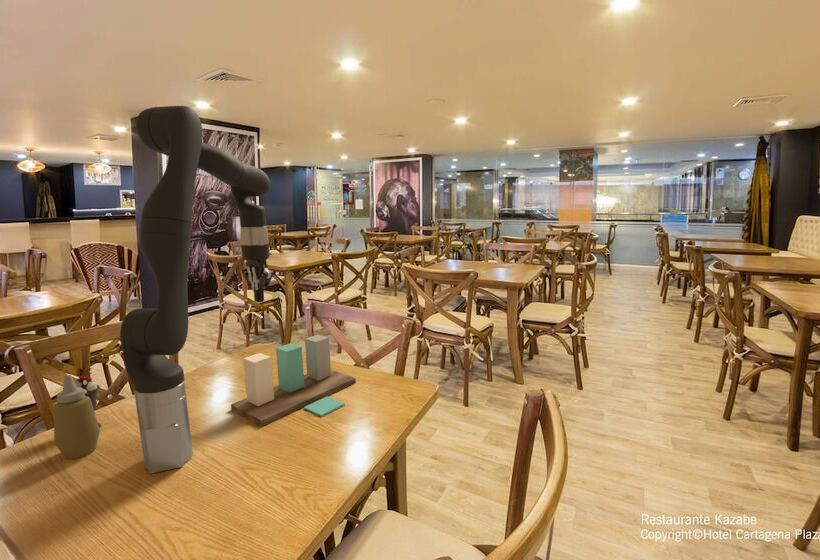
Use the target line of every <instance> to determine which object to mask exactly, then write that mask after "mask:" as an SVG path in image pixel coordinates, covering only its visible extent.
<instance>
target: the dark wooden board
mask: <svg viewBox="0 0 820 560" xmlns="http://www.w3.org/2000/svg"><path fill="white" fill-rule="evenodd" d="M356 380H357V379H356V377H354V376H351V375H348V374H345V373H343V372H339V371H337V370H333V369H331V376H328V377H326V378H324V379H321V380H319V381H317V380H314V379H312V378H309V377H307V373H306V374H304V387H302V388H300V389H298V390H295V391H293V392H290V393H289V392H287V391H284V390H282V389H280V388H279V384H278V385H276V386H273V389H274V400H271V401H269V402H267V403H264V404H262V405H260V406H256V405H254V404H252V403H250V402H248V401H247V397H246V398H244V399H241V400H239V401H236V402H234V403H231V404H230V410H231V411H233V412H234V413H237V414H238V415H241V416H242V417H244V418H246V419H247V420H250V421H251V422H253V423H255V424H257V425H259V426H260V427H263V426H265V425H268V424H270V423H272V422H274V421H277V420H278V419H280V418H283V417H284V416H287V415H289V414H292V413H293V412H295V411H298V410H300V409H302V408H304V407H305V406H307V405H310V404H312V403H314V402H316V401H318V400H320V399H322V398H325V397H327V396H328V397H329V396H331V395H333V394H334V393H337V392H339V391H341V390H343V389H345V388H348V387H349V386H352V385H354V384H356Z"/></svg>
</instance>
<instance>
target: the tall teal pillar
mask: <svg viewBox="0 0 820 560" xmlns="http://www.w3.org/2000/svg"><path fill="white" fill-rule="evenodd" d="M275 351H276V364H277V365H276V366H277V367H276V368H277V379H278V385H279V388H280V389H282V390H284V391H287V392H289V393H290V392H293V391H295V390H298V389H300V388H302V387H304V375H305V374H304V363H303V362H304V359H303V346H302V345H297V344H294V343H291V342H290V343H287V344H284V345H281V346H280V345H279V346H277V347H275Z"/></svg>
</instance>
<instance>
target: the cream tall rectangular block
mask: <svg viewBox="0 0 820 560" xmlns="http://www.w3.org/2000/svg"><path fill="white" fill-rule="evenodd" d="M243 368H244V370H243V371H244V382H245V394H246V398H247V401H248V402H250V403H252V404H254V405H256V406H260V405H262V404H264V403H267V402H269V401H271V400H274V389H273V387H274V377H273V365H272V357H271V356H269V355H266V354H263V353H261V352H259V353H255V354H252V355H250V356H247V357H244V358H243Z"/></svg>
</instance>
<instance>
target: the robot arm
mask: <svg viewBox="0 0 820 560" xmlns="http://www.w3.org/2000/svg"><path fill="white" fill-rule="evenodd" d="M135 123H136V124H135V125H136V132H137V134H138V137H139V138H140V140H141V141H142V143H143V144H144V145H145V146H146V147H147V148H148V149H150V150H152V151H154V152H156V153H159V154H162V155H165V156H168V157H167V163H166V167H165V171H164V173H163V175H162V177H161V178H160V180H159V182H158V183H157V184H156V186H155V187H154V189H153V190H152V191H151V193H150V194H149V197H148V198H147V199H146V201H145V203H144V204H143V207H142V209H141V214H140V215H141V217H140V228H139V246H140V249H141V252H142V254H143V256H144V258H145V261H146V262H147V265H148V266H149V268H150V269H151V272H152V274H153V277H154V278H155V279H154V280H155V281H156V287H157V289H156V290H157V306H156V308H147V307H146V308H145V307H144V308H143V307H141V308H135V309H133V310H131V311H129V312H128V313H126V315H125V316H124V318H123V320H122V321H121V326H120V334H119V336H120V344H121V350H122V355H123V360H124V365H125V368H126V369H125V370H126V373H127V374H126V375H127V376H128V378H129V380H130V381H131V383H132V386H133V393H134V399H135V407H136V415H137V420H138V421H137V422H138V427H139V436H140V441H141V442H140V443H141V449H142V455H143V463H144V467H145V469H147V471H149V474H154V473H159V472H164V471H169V470H173V469H179V468H182V467H184V464H186V463H187V462H188V461H189V460H190V459H191V458H192V456H193V455H194V454H193V453H194V452H193V451H194V450H193V442H192V434H191V424H190V418H189V408H188V400H187V389H186V381H185V374H184V373H185V372H184V368H183V367H182V366H181V365H180V364H178V363H177V362H174V361H173V360H171V359H169V358H168V357H167V356H173V355H176V354H178V353H179V352H180V351H181V350H183V348H184V346H185V344H186V342H187V337H188V333H189V296H188V293H189V291H188V280H189V279H188V277H189V276H188V275H189V256H190V249H191V248H190V247H191V239H192V238H191V236H192V226H193V225H192V223H193V220H192V219H193V216H192V215H193V205H194V204H193V203H194V194H195V185H196V177H197V172H198V169H199V170H201V171H203V172H205V173H207V174H209V175H210V176H212V177H214V178H216V179H217V180H219V181H220V182H222V183H224V184H225V185H228V186H230V191H231V193H232V196H233V199H234V202H235V204H236V207H237V210H238V213H239V225H240V230H239V231H240V233H239V236H240V237H239V238H240V249H241V258H242V260H244V261H246V262H245V267H244V268H242V269H241V273H242V275H243V277H244V279H245V281H246V283H247V285H248V287H251V289H252V290H253V300H254V302H256V303H263V302H264V301H265V293H264V291H265V289H266V288H268V287H269V286H270V283H271V280H272V278H273V276H274V272H273V271H272V270H269V269H268V268H269V266H268V263H267V260H268V259H269V258H270V257H271V256H270V242H269V232H268V228H267V227H268V226H267V214H266V209H265V207H264V206H263V205H258V204H254V203H253V201H252V200H251V197H265V196H266V195H267V194H268V193H269V192H270V190H271V180H270V178H269V176H268V175H267V174H266V172H265V171H263V170H262V169H260V168H258V167H256V166H253V165H251V164H248V163H244V162H242V161H241V160H239V158H237V157H235V156H234V155H233V154H231V153H230V152H228V151H226V150H225V149H223V148H219V147H218V146H214V145H211V144H210V143H209V144H208V143H205V142H203V125H202V121H201V119H200V117H199V114H198V113H197V111H196V110H195V109H193V108H192V107H189V106H186V105H170V106H169V105H165V106H164V105H163V106H154V107H149V108H145V109H143V110H142V111H141V112H140V113H139V114H138V115H137V119H136V122H135Z"/></svg>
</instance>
